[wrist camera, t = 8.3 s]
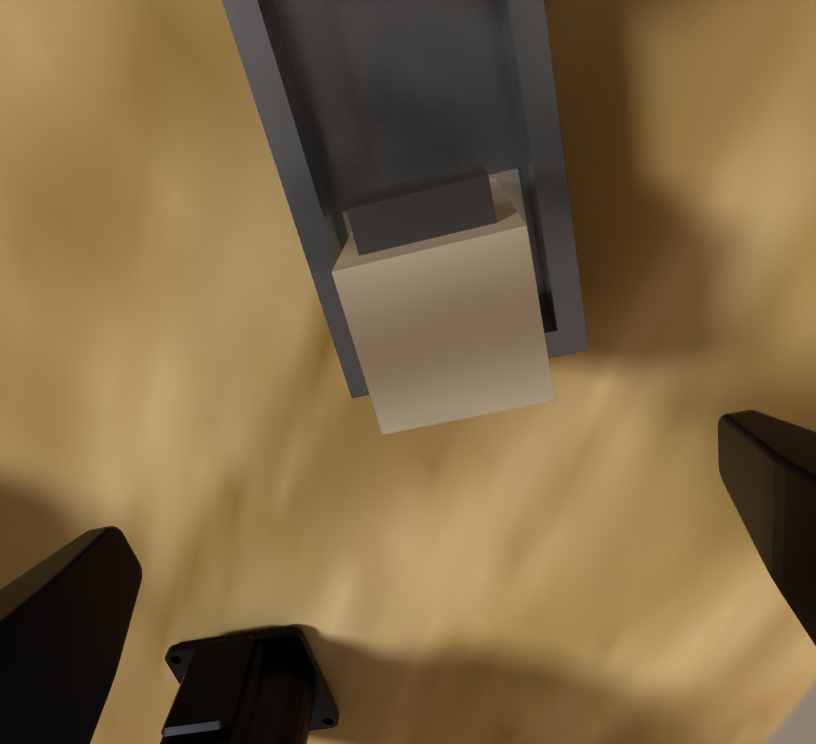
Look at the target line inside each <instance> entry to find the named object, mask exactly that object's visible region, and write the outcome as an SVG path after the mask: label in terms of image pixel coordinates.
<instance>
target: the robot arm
mask: <svg viewBox="0 0 816 744" xmlns="http://www.w3.org/2000/svg"><path fill="white" fill-rule="evenodd" d="M718 455H719V470H720V474H721V477H722V480H723V482H724V485H725V487H726V489H727V491H728V493H729V495H730V497H731V499H732V501H733V503H734V505H735V507H736V509H737V511H738V513H739V515H740V517H741V519H742V521H743V523H744V525H745V527H746V529H747V531H748V533H749V535H750V537H751V539H752V541H753V543H754V545H755V547H756V549H757V551H758V553H759V555H760V557H761V559H762V561H763V562H764V564H765V566H766V568H767V570H768V572H769V574H770V576H771V577H772V579H773V581H774V582H775V584H776V586H777V587H778V589H779V590H780V592H781V594H782V595H783V597H784V598H785V600H786V601H787V603H788V604H789V606H790V607H791V609H792V610H793V612H794V613H795V615H796V617H797V618H798V620H799V621H800V623H801V624H802V626H803V627H804V629H805V630H806V632H807V633H808V635H809V636H810V638H811V639H812V641H813V642H814V644H815V646H816V432H814V431H811V430H809V429H806V428H803V427H800V426H797V425H794V424H792V423H789V422H786V421H783V420H780V419H777V418H774V417H772V416H769V415H766V414H763V413H760V412H757V411H754V410H746V411H740V412H735V413H730V414H725V415H722V416H721V418H720V419H719V422H718ZM141 580H142V569H141V565H140V563H139V561H138V559H137V557H136V556H135V554H134V552H133V550H132V549H131V547H130V545H129V543H128V541H127V540H126V538H125V536H124V534H123V533H122V531H121V530H120V529H118V528H117V527H114V526H109V527H103V528H97V529H92V530H89V531H87V532H85V533H84V534H82V535H81V536H79V537H78V538H76V539H75V540H73V541H72V542H70V543H69V544H67V545H66V546H64V547H63V548H61V549H60V550H58V551H57V552H55V553H54V554H52V555H51V556H49V557H48V558H47V559H45V560H44V561H42V562H41V563H39V564H38V565H36V566H35V567H33V568H32V569H30V570H29V571H27V572H26V573H24V574H23V575H21V576H20V577H18V578H17V579H15V580H14V581H12V582H11V583H9V584H8V585H6V586H5V587H3V588H2V589H1V590H0V744H90V742H91V739H92V737H93V734H94V731H95V729H96V726H97V723H98V721H99V718H100V716H101V713H102V710H103V708H104V705H105V702H106V700H107V697H108V694H109V692H110V689H111V686H112V683H113V680H114V677H115V675H116V671H117V668H118V665H119V661H120V658H121V654H122V651H123V647H124V643H125V640H126V636H127V632H128V629H129V625H130V621H131V618H132V614H133V610H134V607H135V603H136V599H137V595H138V592H139V588H140V584H141ZM165 660H166V662H167V664H168V666H169V667H170V669H171V671H172V672H173V674H174V675H175V677H176V679H177V680H178V682H179V684H180V687H179V689H178V692H177V694H176V696H175V699H174V701H173V704H172V706H171V709H170V711H169V714H168V716H167V718H166V721H165V723H164V726H163V728H162V732H161V734H162V735H163V737H162V740H161V742H160V744H307V740H308V734H309V731H312V730H319V729H327V728H333V727H335V726H337V724H338V721H339V711H338V709H337V707H336V704H335V702H334V700H333V698H332V696H331V693H330V691H329V689H328V687H327V684H326V682H325V680H324V678H323V676H322V673H321V671H320V669H319V667H318V665H317V662H316V660H315V658H314V656H313V654H312V651H311V649H310V647H309V645H308V643H307V640H306V638H305V636H304V634H303V632H302V631H301V630H300V629H298V628H295V627H287V628H281V629H274V630H268V631H261V632H255V633H248V634H242V635H235V636H229V637H222V638H216V639H209V640H203V641H196V642H190V643H183V644H177V645H173V646H171V647H170V648H169V650H168V652H167V654H166V656H165Z"/></svg>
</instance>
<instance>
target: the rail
mask: <svg viewBox="0 0 816 744" xmlns="http://www.w3.org/2000/svg"><path fill="white" fill-rule="evenodd" d="M222 2H223V5H224V8H225V11H226V14H227V17H228V20H229V23H230V26H231V29H232V32H233V35H234V38H235V41H236V44H237V48H238V51H239V54H240V57H241V60H242V63H243V66H244V69H245V72H246V75H247V78H248V81H249V84H250V87H251V90H252V93H253V97H254V100H255V103H256V106H257V109H258V112H259V115H260V118H261V121H262V124H263V127H264V130H265V133H266V136H267V139H268V142H269V146H270V149H271V152H272V155H273V158H274V161H275V164H276V167H277V170H278V173H279V176H280V179H281V182H282V185H283V188H284V191H285V195H286V198H287V201H288V204H289V207H290V210H291V213H292V216H293V219H294V222H295V225H296V228H297V231H298V234H299V237H300V241H301V244H302V247H303V250H304V253H305V256H306V259H307V262H308V265H309V268H310V271H311V274H312V277H313V280H314V283H315V286H316V290H317V293H318V296H319V299H320V302H321V305H322V308H323V311H324V314H325V317H326V320H327V323H328V326H329V329H330V332H331V335H332V339H333V342H334V345H335V348H336V351H337V354H338V357H339V360H340V363H341V366H342V369H343V372H344V375H345V378H346V381H347V384H348V388H349V391H350V394H351V397H352V398H356V397H361V396H366V395H370V394H369V390H368V387H367V384H366V381H365V378H364V374H363V371H362V368H361V365H360V362H359V358H358V355H357V352H356V349H355V346H354V342H353V339H352V336H351V333H350V330H349V326H348V323H347V320H346V317H345V314H344V310H343V307H342V304H341V301H340V298H339V294H338V291H337V288H336V285H335V282H334V278H333V275H332V270H333V268H334V266H335V264H336V262H337V260H338V258H339V256H340V254H341V252H342V250H343V248H344V246H345V244H346V242H347V240H348V238H349V236H350V234H351V232H352V230H351V226H350V223H349V219H348V216H347V212H346V209H347V207H348V206H349V204H350V203H351V201H352V199H353V198H354V196H355V195H356V193H359V192H363V191H367V190H371V189H375V188H379V187H383V186H387V185H391V184H395V183H399V182H403V181H407V180H411V179H415V178H419V177H422V176H426V175H430V174H434V173H438V172H442V171H446V170H450V169H454V168H458V167H462V166H466V165H470V164H474V163H478V162H481V163H482V165H483V166H484V168H485V170H486V171H487V173H488V176H489V181H490V180H494V179H496V180H497V181H498V183H499V184H500V186H501V187H502V189H503V190H504V192H505V193H506V195H507V196H508V198H509V199H510V201H511V203H512V204H513V206H514V207H515V209H516V210H517V212H518V213H519V215H520V216H521V218H522V219H523V221H524V222H525V224H526V226H527V231H528V237H529V243H530V249H531V256H532V262H533V268H534V274H535V280H536V286H537V292H538V299H539V305H540V311H541V317H542V323H543V329H544V335H545V342H546V348H547V354H548V358H551V357H556V356H561V355H565V354H570V353H575V352H580V351H585V350H589V346H588V338H587V331H586V323H585V315H584V307H583V299H582V292H581V284H580V276H579V268H578V260H577V253H576V245H575V237H574V229H573V222H572V214H571V206H570V198H569V190H568V183H567V175H566V167H565V159H564V151H563V144H562V136H561V128H560V120H559V112H558V105H557V97H556V89H555V81H554V74H553V66H552V58H551V50H550V42H549V35H548V27H547V19H546V11H545V3H544V0H222Z"/></svg>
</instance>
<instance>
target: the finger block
mask: <svg viewBox="0 0 816 744" xmlns="http://www.w3.org/2000/svg"><path fill="white" fill-rule="evenodd" d="M346 212H347V216H348V219H349V223H350V226H351V230H352V232H351V234H350V236H349V238H348V240H347V242H346V244H345V246H344V248H343V250H342V252H341V254H340V256H339V258H338V260H337V262H336V264H335V266H334V268H333V270H332V275H333V278H334V282H335V285H336V288H337V291H338V294H339V298H340V301H341V304H342V307H343V310H344V314H345V317H346V320H347V323H348V326H349V330H350V333H351V336H352V339H353V342H354V346H355V349H356V352H357V355H358V358H359V362H360V365H361V368H362V371H363V374H364V378H365V381H366V384H367V387H368V390H369V394H370V397H371V400H372V403H373V406H374V410H375V413H376V416H377V419H378V422H379V426H380V429H381V432H382V435H384V434H389V433H394V432H399V431H404V430H409V429H414V428H419V427H424V426H430V425H435V424H440V423H445V422H450V421H455V420H460V419H465V418H470V417H475V416H480V415H485V414H491V413H496V412H501V411H506V410H511V409H516V408H521V407H526V406H531V405H536V404H541V403H546V402H551V401H555V397H554V391H553V384H552V378H551V372H550V366H549V360H548V354H547V348H546V342H545V335H544V329H543V323H542V317H541V311H540V305H539V299H538V292H537V286H536V280H535V274H534V268H533V262H532V256H531V249H530V243H529V237H528V231H527V226H526V224H525V222H524V221H523V219H522V218H521V216H520V215H519V213H518V212H517V210H516V209H515V207H514V206H513V204H512V203H511V201H510V199H509V198H508V196H507V195H506V193H505V192H504V190H503V189H502V187H501V186H500V184H499V183H498V181H497V180H496V179H494V180H490V181H489V176H488V173H487V171H486V170H485V168H484V166H483V165H482V163H481V162H478V163H474V164H470V165H466V166H462V167H458V168H454V169H450V170H446V171H442V172H438V173H434V174H430V175H426V176H422V177H419V178H415V179H411V180H407V181H403V182H399V183H395V184H391V185H387V186H383V187H379V188H375V189H371V190H367V191H363V192H359V193H356V195H355V196H354V198H353V199H352V201H351V203H350V204H349V206H348V207H347V209H346Z"/></svg>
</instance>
